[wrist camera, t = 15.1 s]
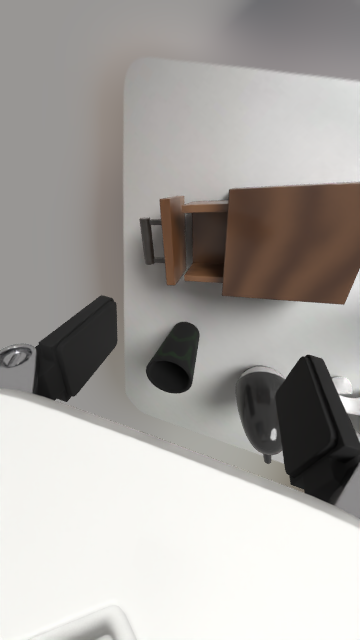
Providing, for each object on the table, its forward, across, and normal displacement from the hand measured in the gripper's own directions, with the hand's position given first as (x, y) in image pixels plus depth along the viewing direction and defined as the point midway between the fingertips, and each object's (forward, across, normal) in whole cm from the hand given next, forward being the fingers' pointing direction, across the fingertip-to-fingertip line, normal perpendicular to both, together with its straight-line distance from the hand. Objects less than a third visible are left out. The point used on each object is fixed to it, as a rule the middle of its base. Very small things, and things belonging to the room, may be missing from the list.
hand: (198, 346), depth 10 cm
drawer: (+24, +4, 0) cm, 24 cm away
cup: (+25, +3, +19) cm, 32 cm away
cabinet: (+25, -6, -2) cm, 26 cm away
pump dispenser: (+25, -14, +25) cm, 38 cm away
